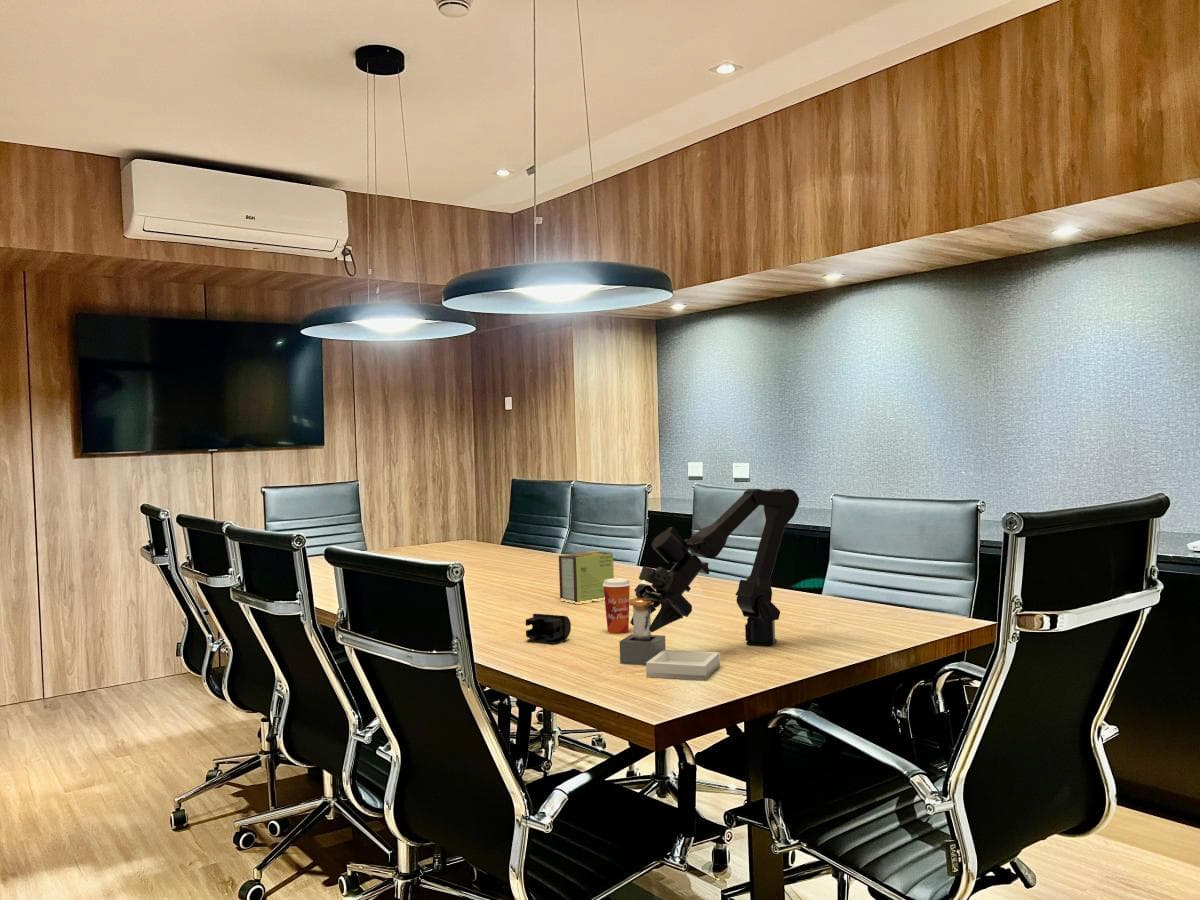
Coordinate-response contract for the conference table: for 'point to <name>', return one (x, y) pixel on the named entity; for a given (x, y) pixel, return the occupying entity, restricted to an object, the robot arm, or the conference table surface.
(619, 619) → the paper cup
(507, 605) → the conference table surface
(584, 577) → the protein box
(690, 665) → the tray
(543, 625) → the end cap
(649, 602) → the hitch pin
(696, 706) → the conference table surface
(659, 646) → the block
